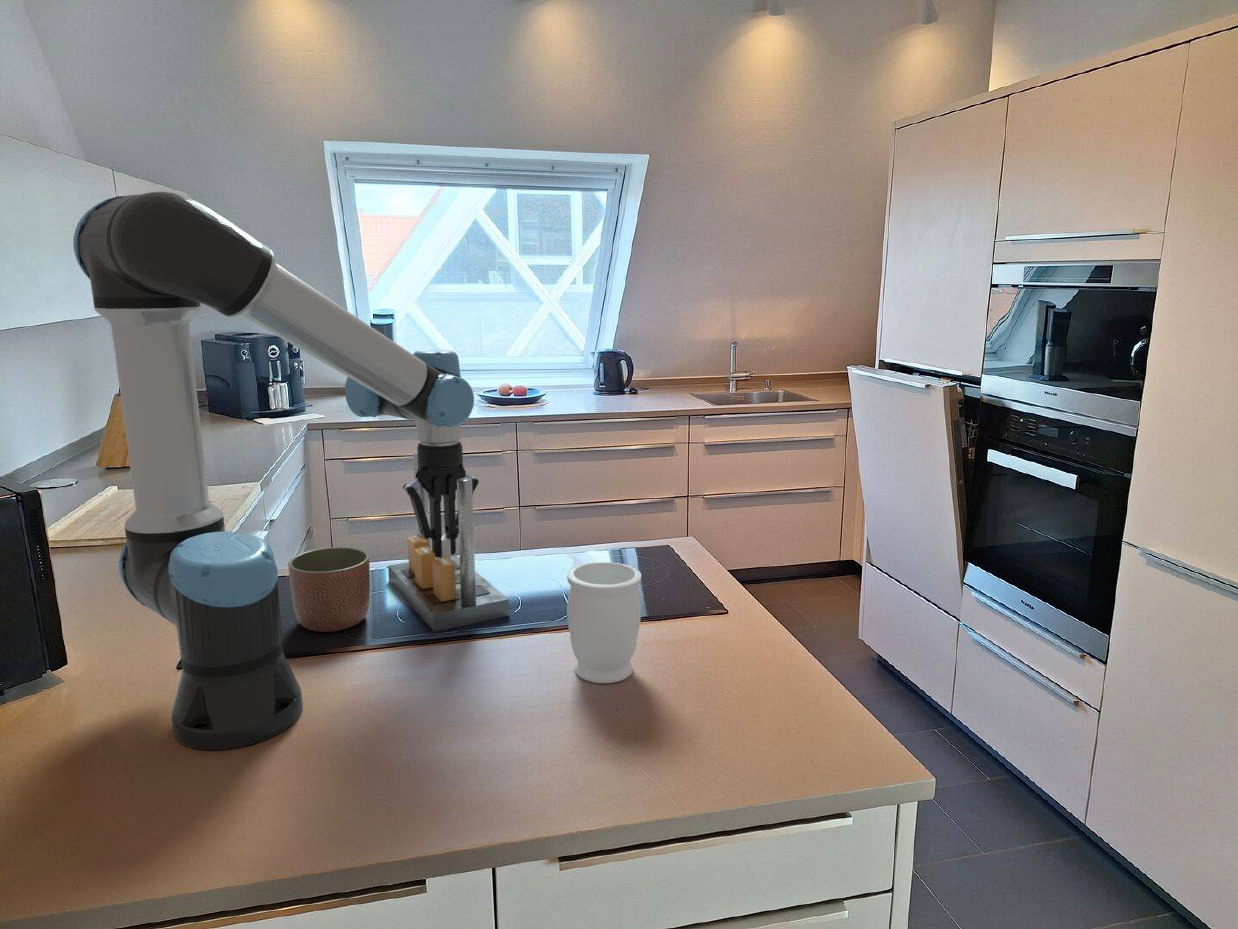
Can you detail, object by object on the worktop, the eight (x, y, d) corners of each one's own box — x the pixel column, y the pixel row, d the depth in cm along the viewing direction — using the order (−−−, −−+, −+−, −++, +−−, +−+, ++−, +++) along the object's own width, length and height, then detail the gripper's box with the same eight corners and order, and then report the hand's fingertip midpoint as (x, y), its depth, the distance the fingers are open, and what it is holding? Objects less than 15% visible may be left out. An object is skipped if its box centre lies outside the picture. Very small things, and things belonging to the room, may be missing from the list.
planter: (300, 644, 126) (295, 577, 124) (287, 616, 137) (282, 553, 134) (381, 628, 133) (377, 564, 130) (362, 602, 143) (359, 542, 140)
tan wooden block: (429, 573, 148) (427, 540, 147) (415, 575, 147) (414, 542, 145) (422, 566, 151) (420, 534, 150) (409, 568, 150) (407, 536, 149)
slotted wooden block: (456, 598, 136) (454, 563, 135) (441, 601, 135) (440, 566, 134) (447, 591, 140) (446, 556, 138) (433, 593, 138) (432, 558, 137)
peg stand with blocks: (509, 615, 138) (506, 477, 132) (434, 632, 131) (427, 486, 126) (455, 569, 159) (451, 448, 154) (388, 580, 153) (381, 455, 148)
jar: (654, 670, 119) (656, 573, 116) (605, 696, 112) (605, 593, 108) (602, 648, 126) (602, 555, 123) (552, 671, 119) (551, 573, 115)
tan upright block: (436, 586, 142) (435, 552, 140) (422, 589, 141) (420, 554, 139) (429, 579, 145) (427, 545, 144) (415, 581, 144) (413, 548, 142)
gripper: (468, 434, 145) (472, 560, 151) (395, 441, 139) (402, 572, 144) (484, 441, 139) (487, 573, 144) (408, 449, 133) (415, 586, 138)
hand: (445, 572), depth 144 cm, fingers closed
